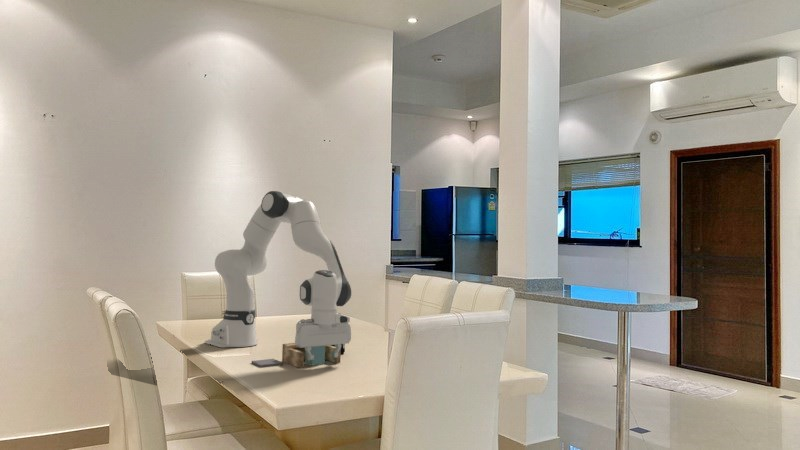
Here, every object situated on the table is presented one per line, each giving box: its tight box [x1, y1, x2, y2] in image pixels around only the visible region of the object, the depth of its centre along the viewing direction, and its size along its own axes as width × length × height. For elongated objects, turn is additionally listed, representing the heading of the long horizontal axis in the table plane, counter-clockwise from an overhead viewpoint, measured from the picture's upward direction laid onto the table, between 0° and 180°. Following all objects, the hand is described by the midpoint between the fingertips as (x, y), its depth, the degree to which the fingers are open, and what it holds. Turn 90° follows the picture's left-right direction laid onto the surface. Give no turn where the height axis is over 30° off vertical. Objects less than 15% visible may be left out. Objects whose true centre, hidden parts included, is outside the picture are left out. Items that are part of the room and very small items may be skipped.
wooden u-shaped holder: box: [281, 342, 342, 369], centre depth 208 cm, size 14×16×6 cm
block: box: [304, 346, 326, 366], centre depth 206 cm, size 5×5×7 cm
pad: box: [251, 358, 284, 368], centre depth 203 cm, size 8×8×1 cm
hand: (322, 358), depth 200 cm, fingers open, 8 cm apart
